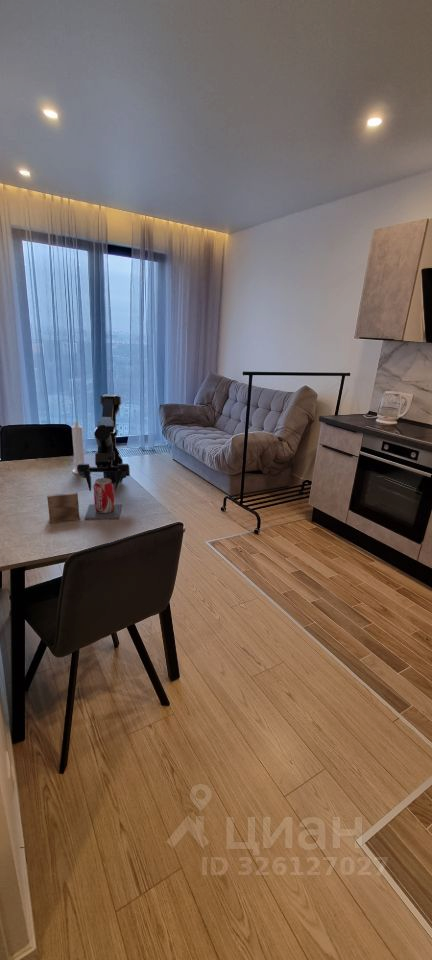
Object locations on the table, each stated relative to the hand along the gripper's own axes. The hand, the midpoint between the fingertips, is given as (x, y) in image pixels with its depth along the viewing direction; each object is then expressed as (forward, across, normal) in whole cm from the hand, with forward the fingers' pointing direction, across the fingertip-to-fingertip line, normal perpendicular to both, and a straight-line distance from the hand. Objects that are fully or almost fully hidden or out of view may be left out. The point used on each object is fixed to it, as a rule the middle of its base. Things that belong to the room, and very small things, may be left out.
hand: (103, 490), depth 145 cm
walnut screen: (+10, -13, +2) cm, 17 cm away
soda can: (+6, 0, +5) cm, 8 cm away
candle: (-26, -16, +38) cm, 49 cm away
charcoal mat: (+7, 0, +5) cm, 8 cm away
